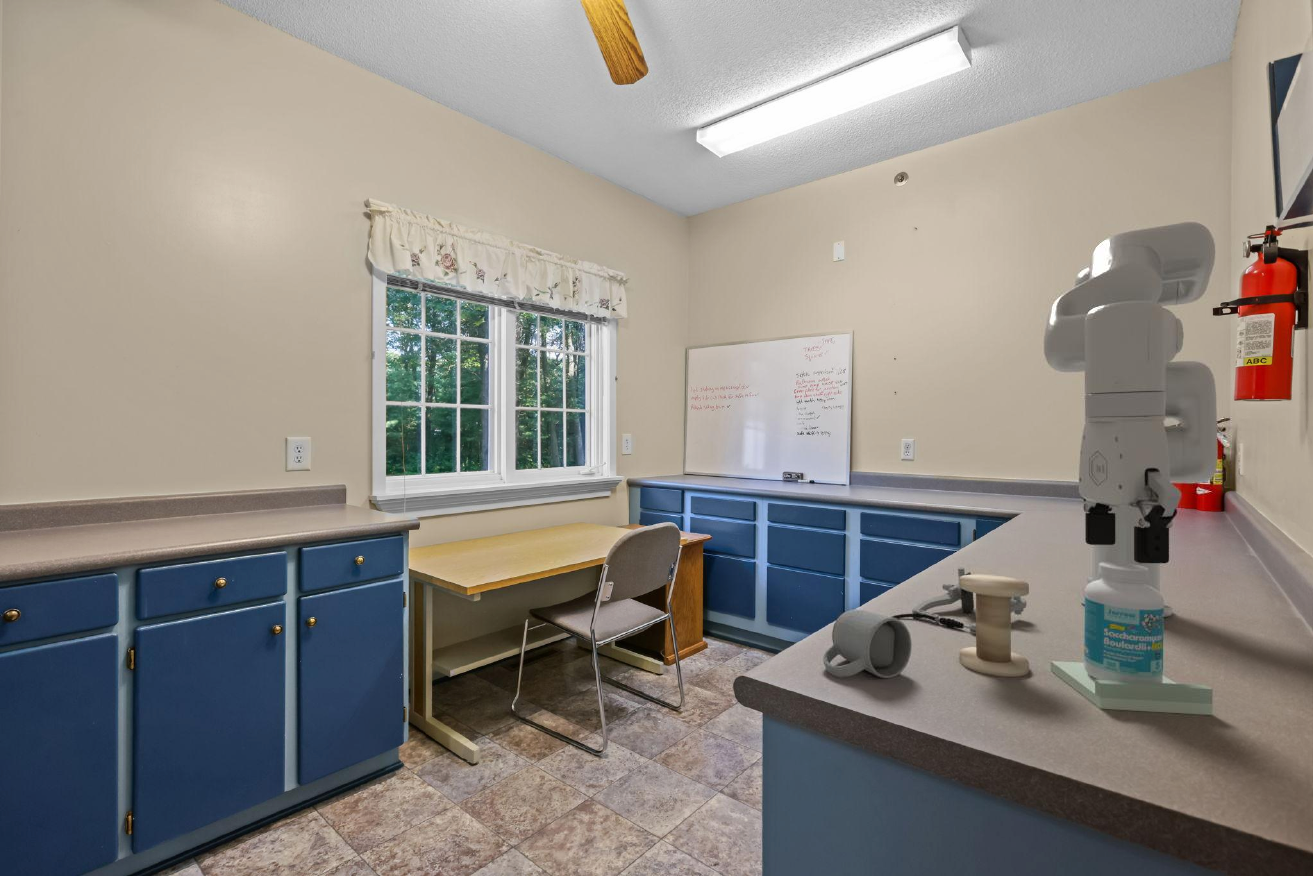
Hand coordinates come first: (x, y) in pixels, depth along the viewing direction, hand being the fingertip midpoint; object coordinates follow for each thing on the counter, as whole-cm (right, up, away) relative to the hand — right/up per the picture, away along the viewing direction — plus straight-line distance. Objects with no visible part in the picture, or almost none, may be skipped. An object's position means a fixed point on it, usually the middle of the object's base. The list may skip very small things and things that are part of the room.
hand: (1124, 552), depth 72 cm
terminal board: (0, -16, -1) cm, 16 cm away
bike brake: (-6, -17, +27) cm, 32 cm away
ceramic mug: (-29, -17, +6) cm, 34 cm away
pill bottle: (0, -15, 0) cm, 15 cm away
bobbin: (-11, -16, +8) cm, 21 cm away
